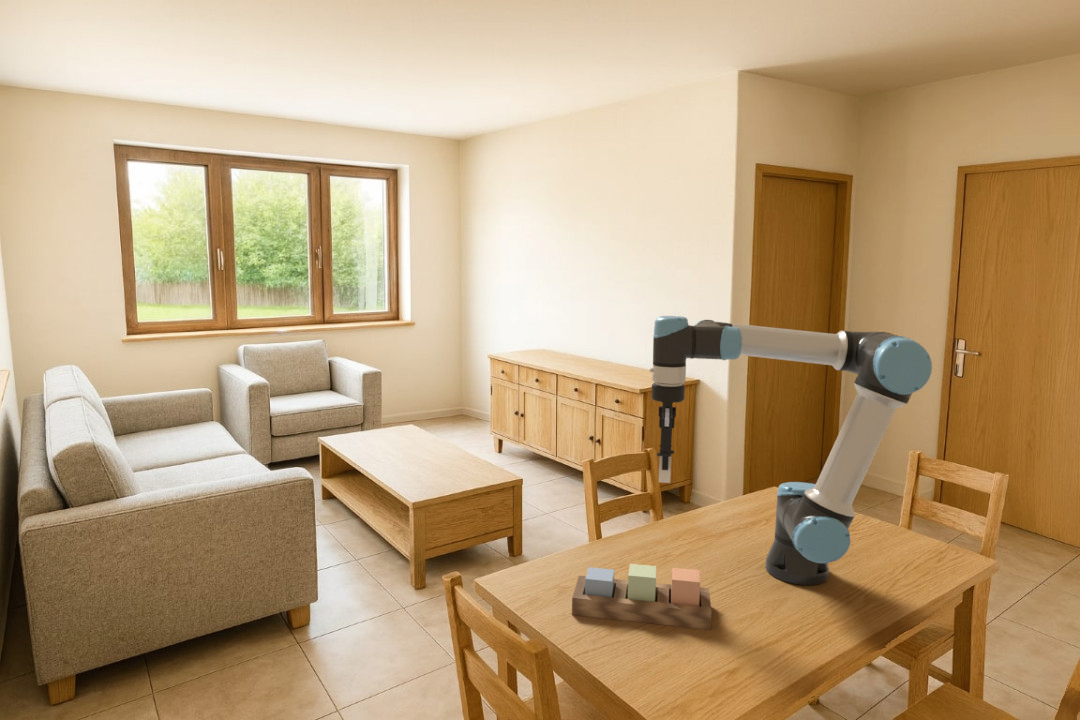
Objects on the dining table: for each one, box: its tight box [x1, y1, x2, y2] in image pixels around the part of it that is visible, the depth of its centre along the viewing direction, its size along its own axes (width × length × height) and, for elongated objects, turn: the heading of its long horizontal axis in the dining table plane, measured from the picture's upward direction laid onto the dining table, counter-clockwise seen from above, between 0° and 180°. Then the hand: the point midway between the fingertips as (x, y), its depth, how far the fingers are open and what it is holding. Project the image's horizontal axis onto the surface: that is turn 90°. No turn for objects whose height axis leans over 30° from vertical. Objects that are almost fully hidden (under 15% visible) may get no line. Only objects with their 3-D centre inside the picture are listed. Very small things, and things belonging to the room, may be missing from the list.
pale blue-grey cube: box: [585, 566, 615, 598], centre depth 159 cm, size 6×6×7 cm
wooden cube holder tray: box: [571, 575, 712, 631], centre depth 157 cm, size 30×11×4 cm, turn 79°
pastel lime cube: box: [627, 563, 657, 602], centre depth 157 cm, size 6×6×7 cm
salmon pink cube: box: [670, 567, 701, 606], centre depth 155 cm, size 6×6×7 cm
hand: (664, 481), depth 164 cm, fingers closed
